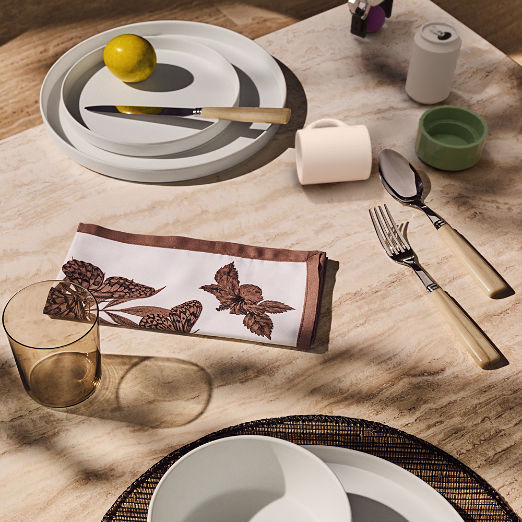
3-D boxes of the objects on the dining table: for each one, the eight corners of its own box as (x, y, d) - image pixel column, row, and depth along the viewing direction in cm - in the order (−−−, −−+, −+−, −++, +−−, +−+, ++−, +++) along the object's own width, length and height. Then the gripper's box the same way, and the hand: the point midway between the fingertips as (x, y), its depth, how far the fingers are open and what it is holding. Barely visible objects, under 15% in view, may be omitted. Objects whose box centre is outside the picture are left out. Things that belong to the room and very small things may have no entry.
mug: (368, 190, 101) (374, 148, 95) (301, 195, 100) (303, 154, 94) (352, 138, 109) (357, 97, 102) (290, 143, 108) (292, 101, 102)
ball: (380, 22, 131) (383, -3, 127) (386, 36, 128) (389, 11, 124) (354, 24, 131) (357, -1, 127) (360, 38, 128) (363, 13, 124)
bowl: (468, 128, 110) (475, 102, 106) (489, 170, 103) (497, 144, 100) (406, 133, 109) (411, 107, 105) (423, 176, 103) (429, 150, 99)
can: (432, 112, 113) (447, 48, 104) (395, 94, 116) (406, 31, 107) (457, 92, 116) (473, 28, 107) (420, 75, 120) (432, 12, 110)
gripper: (374, -44, 109) (362, 52, 123) (427, -81, 118) (411, 12, 131) (335, -57, 112) (328, 38, 126) (390, -92, 121) (378, 0, 135)
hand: (370, 24), depth 129 cm, fingers open, 8 cm apart
